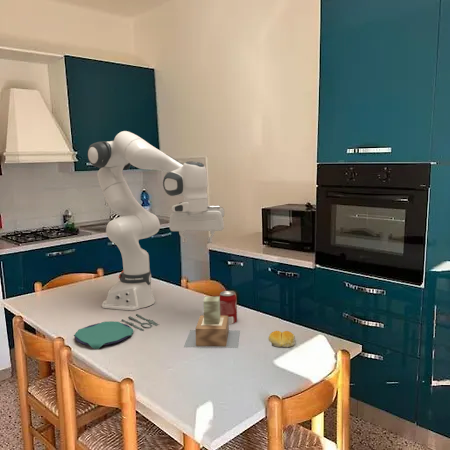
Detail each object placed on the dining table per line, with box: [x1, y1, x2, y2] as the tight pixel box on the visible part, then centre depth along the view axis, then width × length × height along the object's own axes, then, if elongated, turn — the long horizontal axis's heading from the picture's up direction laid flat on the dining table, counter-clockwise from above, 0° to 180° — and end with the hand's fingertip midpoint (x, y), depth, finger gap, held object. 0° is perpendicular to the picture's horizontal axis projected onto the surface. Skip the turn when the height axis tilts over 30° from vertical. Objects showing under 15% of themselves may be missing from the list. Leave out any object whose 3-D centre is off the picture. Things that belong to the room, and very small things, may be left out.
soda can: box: [218, 290, 238, 325], centre depth 164 cm, size 7×7×12 cm
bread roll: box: [268, 330, 296, 348], centre depth 147 cm, size 8×9×4 cm
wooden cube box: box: [194, 314, 230, 346], centre depth 149 cm, size 10×12×6 cm
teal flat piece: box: [73, 313, 160, 350], centre depth 159 cm, size 20×30×2 cm, turn 135°
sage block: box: [202, 296, 220, 324], centre depth 148 cm, size 5×5×8 cm
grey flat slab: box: [183, 329, 241, 349], centre depth 150 cm, size 18×14×1 cm
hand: (197, 242), depth 163 cm, fingers open, 8 cm apart
